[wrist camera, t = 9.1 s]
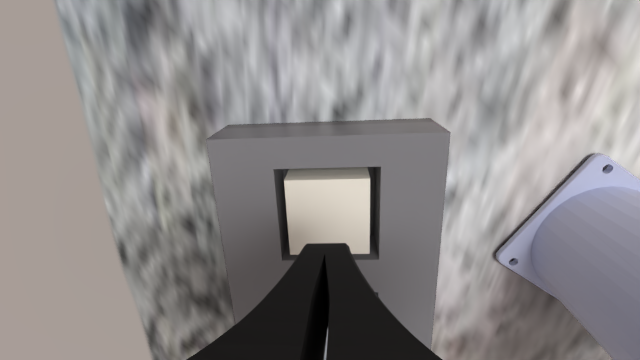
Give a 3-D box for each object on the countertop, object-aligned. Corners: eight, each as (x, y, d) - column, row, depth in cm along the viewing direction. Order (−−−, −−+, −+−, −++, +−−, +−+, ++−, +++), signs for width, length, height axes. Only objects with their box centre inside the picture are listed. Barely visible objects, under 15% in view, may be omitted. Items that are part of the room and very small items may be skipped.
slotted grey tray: (228, 125, 19) (205, 139, 16) (430, 118, 18) (450, 132, 15) (266, 406, 26) (256, 456, 23) (410, 409, 26) (420, 460, 23)
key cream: (290, 164, 18) (284, 180, 16) (365, 162, 18) (370, 178, 16) (295, 230, 20) (290, 254, 17) (365, 229, 19) (369, 253, 17)
